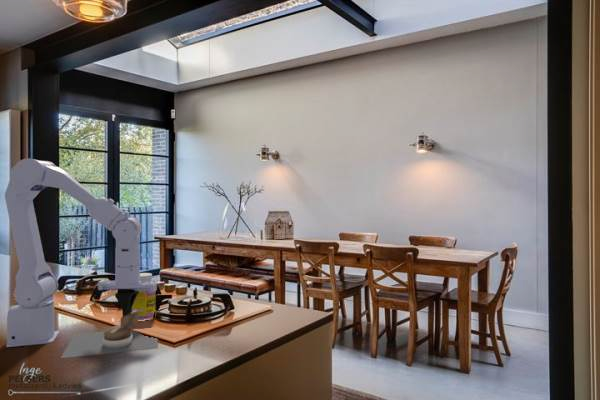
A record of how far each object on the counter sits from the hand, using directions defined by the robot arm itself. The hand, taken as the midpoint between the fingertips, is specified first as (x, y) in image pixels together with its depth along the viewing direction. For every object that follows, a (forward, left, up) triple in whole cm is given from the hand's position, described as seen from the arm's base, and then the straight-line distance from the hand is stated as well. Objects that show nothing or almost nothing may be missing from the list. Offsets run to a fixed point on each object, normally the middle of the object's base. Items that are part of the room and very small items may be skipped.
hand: (127, 318), depth 106 cm
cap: (0, -3, -2) cm, 4 cm away
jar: (-2, -6, -4) cm, 7 cm away
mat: (-3, -4, -4) cm, 6 cm away
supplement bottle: (+3, +13, -5) cm, 15 cm away
